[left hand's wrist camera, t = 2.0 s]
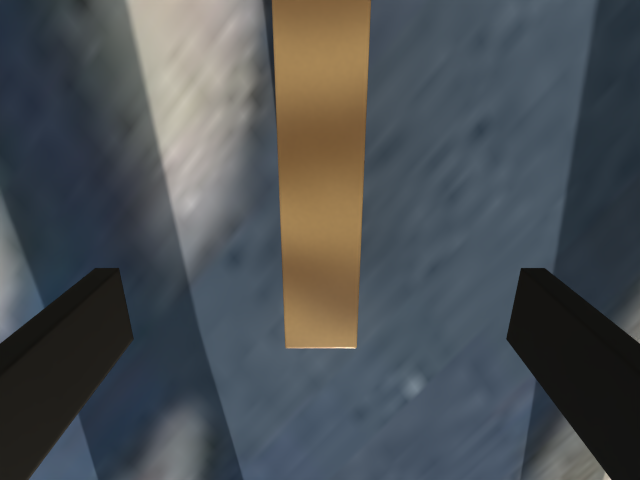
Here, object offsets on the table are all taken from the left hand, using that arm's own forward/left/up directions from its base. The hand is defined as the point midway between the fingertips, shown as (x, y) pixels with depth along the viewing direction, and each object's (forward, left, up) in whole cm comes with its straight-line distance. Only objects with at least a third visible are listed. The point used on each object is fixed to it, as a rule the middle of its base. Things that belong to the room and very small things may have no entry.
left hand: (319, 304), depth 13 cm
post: (+15, +11, -15) cm, 24 cm away
